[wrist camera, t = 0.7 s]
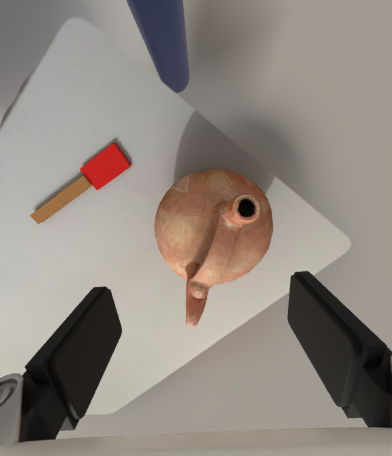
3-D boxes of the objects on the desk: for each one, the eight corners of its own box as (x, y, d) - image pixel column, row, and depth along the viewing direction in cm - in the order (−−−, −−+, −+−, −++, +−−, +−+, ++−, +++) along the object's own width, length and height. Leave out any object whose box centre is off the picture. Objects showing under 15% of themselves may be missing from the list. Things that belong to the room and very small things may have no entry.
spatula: (30, 208, 36) (24, 210, 35) (115, 143, 32) (112, 142, 31) (47, 226, 37) (42, 228, 36) (131, 165, 33) (129, 165, 32)
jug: (228, 270, 40) (255, 365, 21) (150, 238, 38) (103, 312, 19) (274, 193, 34) (367, 228, 15) (186, 150, 32) (169, 129, 13)
